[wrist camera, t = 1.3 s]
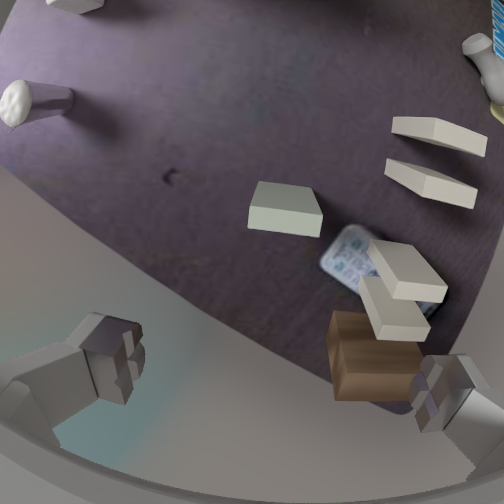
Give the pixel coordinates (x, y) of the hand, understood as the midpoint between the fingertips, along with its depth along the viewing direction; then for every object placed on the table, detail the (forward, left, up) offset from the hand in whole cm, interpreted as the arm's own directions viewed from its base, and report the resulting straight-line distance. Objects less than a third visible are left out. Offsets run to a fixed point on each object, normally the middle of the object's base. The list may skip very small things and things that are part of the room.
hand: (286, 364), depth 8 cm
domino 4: (+5, +12, -23) cm, 27 cm away
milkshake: (-8, -25, -23) cm, 35 cm away
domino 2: (-8, +12, -23) cm, 27 cm away
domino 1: (+1, 0, -23) cm, 23 cm away
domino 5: (+9, +12, -23) cm, 28 cm away
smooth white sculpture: (-17, +20, -24) cm, 36 cm away
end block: (+15, +12, -23) cm, 30 cm away
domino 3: (-4, +12, -23) cm, 26 cm away
